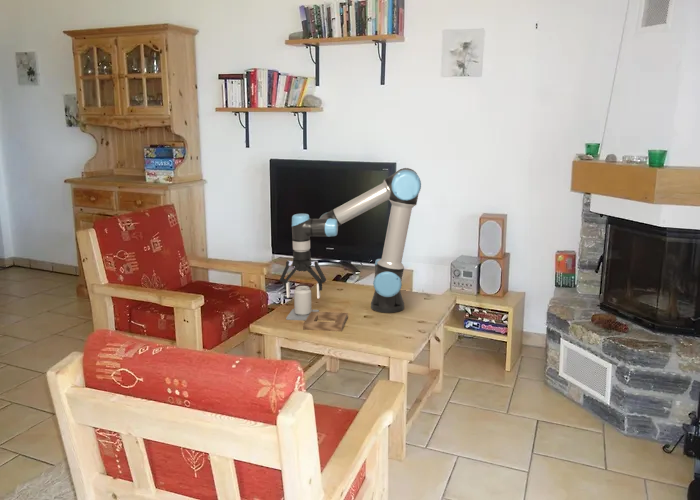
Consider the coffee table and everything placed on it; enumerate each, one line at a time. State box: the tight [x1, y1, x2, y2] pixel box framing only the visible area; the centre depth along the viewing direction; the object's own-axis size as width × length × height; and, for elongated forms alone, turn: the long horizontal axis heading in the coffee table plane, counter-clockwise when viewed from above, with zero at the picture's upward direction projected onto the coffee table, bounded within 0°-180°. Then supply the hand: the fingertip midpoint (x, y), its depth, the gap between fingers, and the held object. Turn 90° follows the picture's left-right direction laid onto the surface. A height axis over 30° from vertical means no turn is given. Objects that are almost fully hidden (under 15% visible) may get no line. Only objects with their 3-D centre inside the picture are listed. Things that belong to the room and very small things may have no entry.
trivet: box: [286, 308, 320, 321], centre depth 260 cm, size 12×12×1 cm
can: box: [293, 285, 313, 316], centre depth 259 cm, size 8×8×12 cm
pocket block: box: [302, 311, 349, 332], centre depth 250 cm, size 16×16×2 cm
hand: (303, 297), depth 258 cm, fingers open, 13 cm apart
